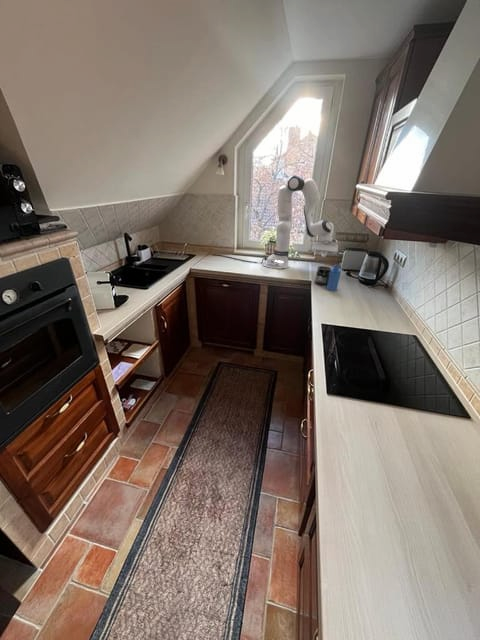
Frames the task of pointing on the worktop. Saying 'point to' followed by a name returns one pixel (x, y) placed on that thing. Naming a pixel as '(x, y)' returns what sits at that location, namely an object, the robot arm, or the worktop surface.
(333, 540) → the worktop surface
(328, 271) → the supplement container
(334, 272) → the blue bottle
